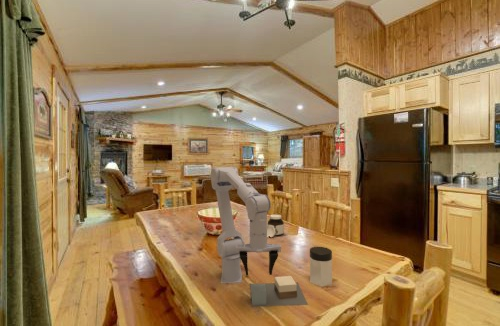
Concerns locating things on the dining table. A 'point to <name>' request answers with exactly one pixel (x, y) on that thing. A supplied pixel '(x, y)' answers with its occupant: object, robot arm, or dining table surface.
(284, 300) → the felt mat
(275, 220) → the spread jar
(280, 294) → the walnut slab
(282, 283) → the cream slab
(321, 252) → the jar
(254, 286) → the gray cube
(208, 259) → the dining table surface
